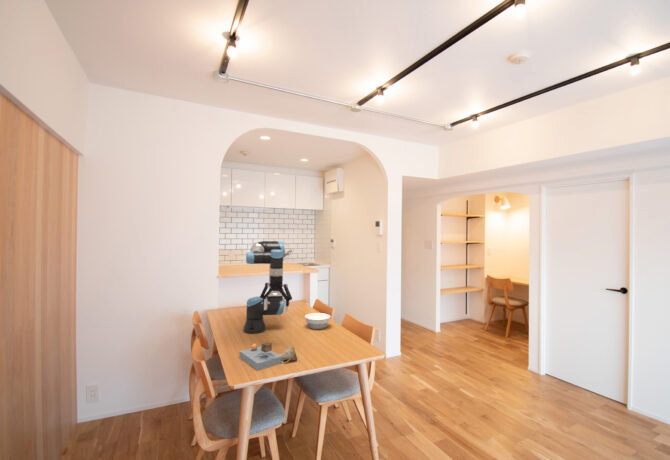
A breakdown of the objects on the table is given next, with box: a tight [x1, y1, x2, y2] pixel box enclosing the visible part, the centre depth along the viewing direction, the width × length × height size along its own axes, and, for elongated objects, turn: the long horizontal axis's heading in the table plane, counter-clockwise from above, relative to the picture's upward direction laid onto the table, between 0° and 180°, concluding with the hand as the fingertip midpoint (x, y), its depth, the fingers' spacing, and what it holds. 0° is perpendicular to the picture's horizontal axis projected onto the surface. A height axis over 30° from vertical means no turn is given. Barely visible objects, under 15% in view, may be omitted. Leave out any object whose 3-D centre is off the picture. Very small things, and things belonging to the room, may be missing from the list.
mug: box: [279, 346, 298, 365], centre depth 169 cm, size 8×10×10 cm
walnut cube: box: [260, 341, 273, 352], centre depth 174 cm, size 4×4×4 cm
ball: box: [250, 343, 258, 350], centre depth 174 cm, size 4×4×4 cm
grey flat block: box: [238, 345, 282, 371], centre depth 169 cm, size 21×14×4 cm, turn 42°
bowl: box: [304, 312, 332, 330], centre depth 230 cm, size 19×19×8 cm
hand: (275, 310), depth 185 cm, fingers open, 13 cm apart
